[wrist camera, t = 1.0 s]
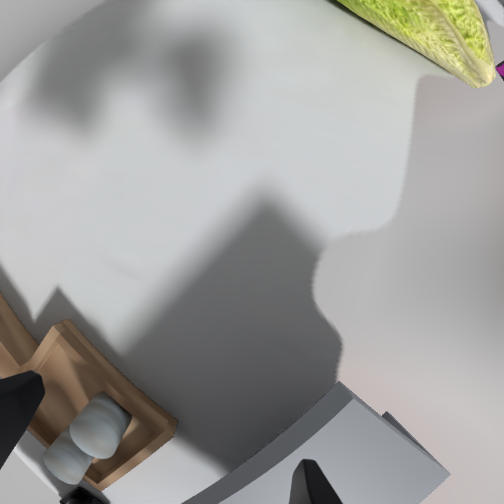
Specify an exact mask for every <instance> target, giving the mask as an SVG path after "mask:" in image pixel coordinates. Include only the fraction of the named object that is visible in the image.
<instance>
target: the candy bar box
mask: <svg viewBox="0 0 504 504" xmlns="http://www.w3.org/2000/svg"><path fill="white" fill-rule="evenodd" d="M495 68H496V70H497V72H498V73H499V74H500V76H501V77H502V79H503V81H504V61H503V62H501V63H499V64H498V65H497V66H496V67H495Z"/></svg>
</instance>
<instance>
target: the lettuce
mask: <svg viewBox="0 0 504 504" xmlns="http://www.w3.org/2000/svg"><path fill="white" fill-rule="evenodd" d="M337 1H339V2H340V3H341V4H343V5H344V6H346V7H347V8H348V9H350V10H351V11H353V12H354V13H355V14H357V15H358V16H360V17H361V18H363V19H365V20H367V21H368V22H370V23H372V24H373V25H375V26H376V27H378V28H380V29H381V30H383V31H384V32H386V33H387V34H389V35H391V36H392V37H394V38H396V39H398V40H399V41H401V42H403V43H404V44H406V45H408V46H409V47H411V48H413V49H414V50H416V51H418V52H419V53H421V54H422V55H424V56H426V57H427V58H429V59H430V60H432V61H433V62H435V63H436V64H438V65H440V66H441V67H443V68H444V69H446V70H447V71H449V72H450V73H452V74H453V75H455V76H456V77H458V78H459V79H460V80H462V81H463V82H465V83H466V84H468V85H469V86H471V87H472V88H479V87H484V86H488V85H489V84H490V83H491V81H492V80H493V79H494V78H495V76H496V74H495V64H494V58H493V52H492V48H491V44H490V41H489V37H488V34H487V30H486V27H485V25H484V22H483V19H482V16H481V14H480V11H479V8H478V6H477V5H476V3H475V1H474V0H337Z"/></svg>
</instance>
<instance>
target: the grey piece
mask: <svg viewBox="0 0 504 504" xmlns="http://www.w3.org/2000/svg"><path fill="white" fill-rule="evenodd" d="M302 459H313V460H315V461H316V462H317V463H318V465H319V467H320V468H321V470H322V471H323V473H324V475H325V476H326V478H327V479H328V481H329V482H330V484H331V485H332V487H333V489H334V490H335V492H336V493H337V495H338V496H339V498H340V499H341V501H342V502H343V504H419V503H420V502H421V501H423V500H424V499H425V498H426V497H427V496H428V495H429V494H431V493H432V492H433V491H434V490H435V489H436V488H437V487H438V486H439V485H440V484H441V483H442V482H444V481H445V479H446V478H447V477H449V476H450V473H449V472H448V471H447V470H446V469H445V468H444V467H443V466H442V465H441V464H440V463H439V462H438V461H437V460H436V459H435V458H434V457H433V456H432V455H431V454H430V453H429V452H428V451H427V450H426V449H425V448H424V447H423V446H422V445H421V444H420V443H419V442H418V441H417V440H416V439H415V438H414V437H413V436H412V435H411V434H410V433H409V432H408V431H406V429H405V428H403V426H402V425H401V424H400V423H399V422H398V421H397V420H396V419H395V418H394V417H393V416H392V415H391V414H389V413H388V412H385V413H384V414H383V415H382V416H380V415H379V414H378V413H377V412H375V411H374V410H373V409H371V407H369V406H368V405H367V404H366V403H365V402H363V401H362V400H361V399H360V398H359V397H357V396H356V395H355V394H354V393H353V392H352V391H350V390H349V389H348V388H347V387H346V386H345V385H343V384H342V383H341V382H340V381H339V382H338V383H337V384H336V385H335V386H334V387H333V388H332V389H331V390H330V391H328V392H327V393H326V394H325V395H324V396H323V397H322V398H321V399H320V400H319V401H318V402H317V403H316V404H315V405H314V406H313V407H312V408H310V409H309V410H308V411H307V412H306V413H305V414H304V415H303V416H302V417H300V418H299V419H298V420H297V421H296V422H295V423H293V424H292V425H291V426H290V427H289V428H288V429H286V430H285V431H284V432H283V433H282V434H280V435H279V436H278V437H277V438H276V439H274V440H273V441H272V442H271V443H269V444H268V445H267V446H266V447H264V448H263V449H262V450H260V451H259V452H258V453H257V454H255V455H254V456H253V457H251V458H250V459H249V460H247V461H246V462H244V463H243V464H242V465H240V466H239V467H238V468H236V469H235V470H233V471H232V472H230V473H229V474H228V475H226V476H225V477H223V478H222V479H220V480H219V481H217V482H216V483H214V484H213V485H211V486H209V487H208V488H206V489H205V490H203V491H202V492H200V493H198V494H197V495H195V496H193V497H192V498H190V499H188V500H187V501H185V502H183V503H182V504H289V499H290V491H291V483H292V476H293V472H294V470H295V469H296V467H297V466H298V464H299V463H300V461H301V460H302Z"/></svg>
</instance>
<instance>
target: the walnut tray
mask: <svg viewBox="0 0 504 504" xmlns="http://www.w3.org/2000/svg"><path fill="white" fill-rule="evenodd" d="M29 370H34V371H36V372H37V373H39V374H40V375H41V376H42V379H43V383H44V387H45V396H44V398H43V400H42V402H41V403H40V405H39V407H38V409H37V411H36V413H35V415H34V417H33V419H32V420H31V422H30V424H29V426H28V427H27V429H28V430H29V431H30V433H31V434H32V435H33V436H34V437H36V438H37V439H38V440H39V441H40V442H41V443H42V444H43V445H44V446H45V447H46V448H47V451H46V452H45V453H44V454H43V462H44V464H45V466H46V468H47V469H48V470H49V471H50V472H51V473H52V474H53V475H54V476H55V477H56V478H58V479H59V480H61V481H63V482H65V483H68V484H73V485H75V484H78V483H79V482H80V481H81V479H82V478H83V479H84V480H85V481H87V482H88V483H89V484H91V485H92V486H93V487H95V488H96V489H98V490H99V491H100V492H101V491H102V490H104V489H105V488H107V487H108V486H110V485H111V484H112V483H114V482H115V481H117V480H118V479H119V478H121V477H122V476H124V475H125V474H126V473H128V472H129V471H130V470H132V469H133V468H134V467H136V466H137V465H138V464H140V463H141V462H142V461H144V460H145V459H146V458H148V457H149V456H150V455H151V454H153V453H154V452H155V451H157V450H158V449H159V448H160V447H162V446H163V445H164V444H165V443H167V442H168V441H169V440H170V439H171V438H173V437H174V433H175V429H176V426H177V422H178V420H176V419H175V418H174V417H172V416H171V415H170V414H168V413H167V412H166V411H165V410H163V409H162V408H161V407H160V406H158V405H157V404H156V403H155V402H154V401H152V400H151V399H150V398H149V397H148V396H146V395H145V394H144V393H143V392H142V391H141V390H139V389H138V388H137V387H136V386H135V385H134V384H133V383H131V382H130V381H129V380H128V379H127V378H126V377H125V376H124V375H123V374H122V373H121V372H119V371H118V370H117V369H116V368H115V367H114V366H113V365H112V364H111V363H110V362H109V361H108V360H107V359H106V358H105V357H104V356H103V355H102V354H101V353H100V352H99V351H98V350H97V349H96V348H95V347H94V346H93V345H92V344H91V343H90V342H89V341H88V340H87V339H86V338H85V336H84V335H83V334H82V333H81V332H80V331H79V330H78V329H77V328H76V327H75V326H74V324H73V323H72V322H71V321H70V320H69V319H66V320H64V321H61V322H59V323H57V324H55V325H53V326H52V327H51V329H50V330H49V332H48V333H47V335H46V336H45V338H44V339H43V341H42V342H41V344H40V345H39V344H38V343H37V342H36V341H35V339H34V338H33V337H32V336H31V334H30V333H29V332H28V331H27V329H26V328H25V327H24V325H23V324H22V323H21V321H20V320H19V319H18V317H17V316H16V315H15V313H14V312H13V311H12V309H11V308H10V306H9V305H8V304H7V302H6V301H5V299H4V298H3V296H2V295H1V293H0V376H1V377H2V378H6V377H9V376H13V375H16V374H19V373H22V372H25V371H29Z"/></svg>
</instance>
